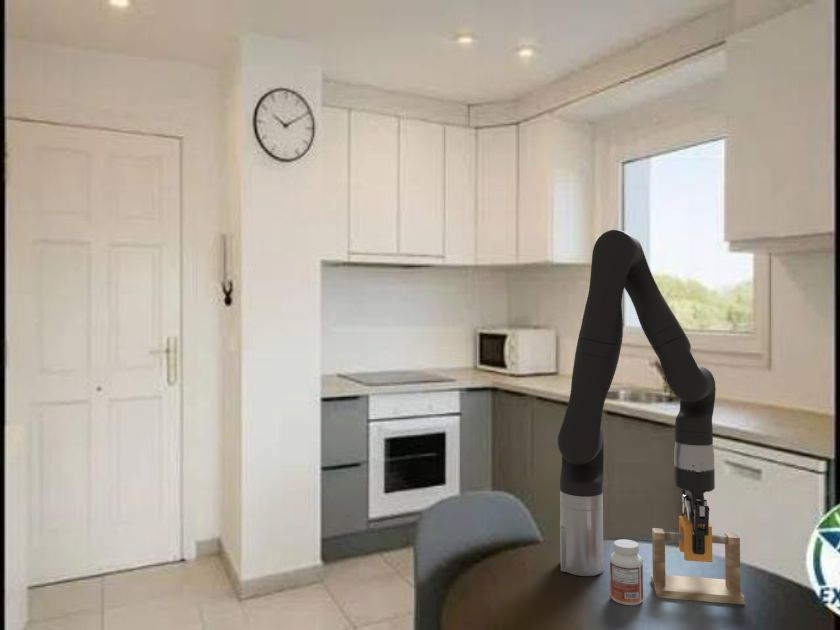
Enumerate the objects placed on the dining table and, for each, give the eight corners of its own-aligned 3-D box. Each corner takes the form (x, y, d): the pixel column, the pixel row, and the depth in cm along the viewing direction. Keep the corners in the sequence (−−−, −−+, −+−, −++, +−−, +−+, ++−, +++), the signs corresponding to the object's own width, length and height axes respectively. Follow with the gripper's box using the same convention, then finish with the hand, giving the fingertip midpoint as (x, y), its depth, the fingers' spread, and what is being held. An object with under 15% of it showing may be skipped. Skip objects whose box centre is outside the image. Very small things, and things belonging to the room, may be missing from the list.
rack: (657, 597, 124) (656, 537, 124) (651, 580, 132) (650, 524, 132) (744, 604, 121) (743, 542, 121) (732, 587, 128) (732, 528, 128)
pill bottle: (621, 589, 128) (621, 535, 128) (649, 600, 123) (648, 543, 123) (604, 598, 124) (603, 542, 124) (631, 609, 119) (631, 551, 119)
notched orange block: (685, 560, 124) (685, 525, 124) (679, 549, 130) (679, 515, 130) (712, 562, 123) (711, 526, 123) (705, 551, 129) (704, 517, 129)
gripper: (668, 456, 134) (669, 534, 134) (681, 472, 120) (682, 560, 120) (705, 457, 133) (706, 537, 132) (723, 474, 119) (724, 562, 118)
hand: (695, 547), depth 126 cm, fingers closed on notched orange block, 5 cm apart
